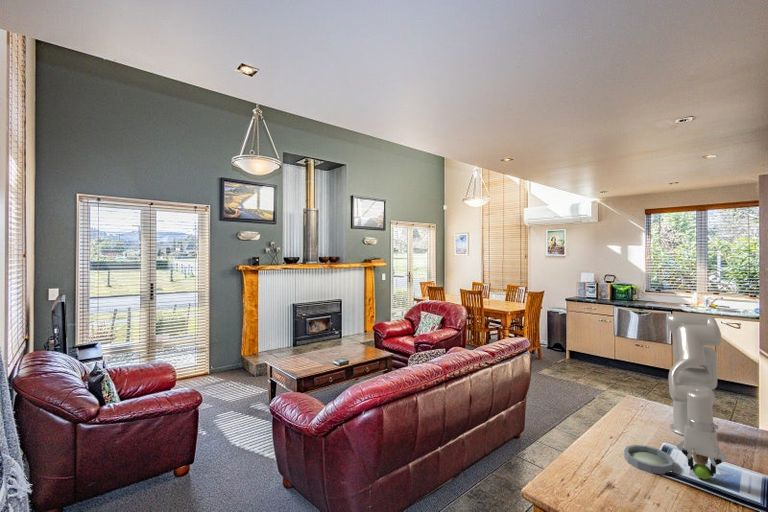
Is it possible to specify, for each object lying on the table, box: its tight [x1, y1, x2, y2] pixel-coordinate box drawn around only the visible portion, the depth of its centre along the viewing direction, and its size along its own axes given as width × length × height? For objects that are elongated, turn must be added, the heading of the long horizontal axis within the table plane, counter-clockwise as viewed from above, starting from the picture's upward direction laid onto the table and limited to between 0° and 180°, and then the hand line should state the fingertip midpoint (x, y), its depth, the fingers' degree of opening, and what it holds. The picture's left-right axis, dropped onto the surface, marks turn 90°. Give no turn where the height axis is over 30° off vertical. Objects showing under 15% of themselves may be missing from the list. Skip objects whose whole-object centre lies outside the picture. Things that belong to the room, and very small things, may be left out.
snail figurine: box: [692, 448, 712, 480], centre depth 144 cm, size 5×6×12 cm
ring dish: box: [623, 444, 675, 475], centre depth 156 cm, size 16×16×3 cm
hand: (701, 470), depth 144 cm, fingers closed on snail figurine, 5 cm apart
